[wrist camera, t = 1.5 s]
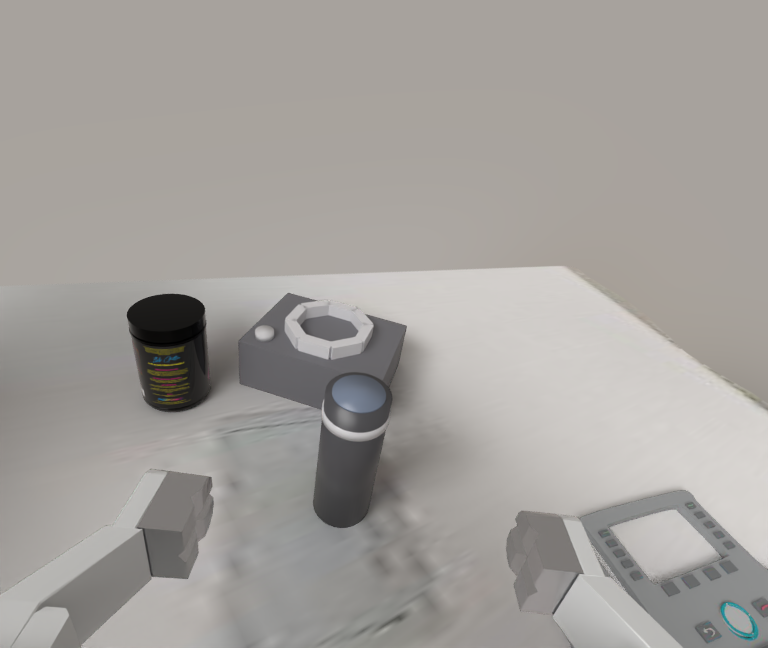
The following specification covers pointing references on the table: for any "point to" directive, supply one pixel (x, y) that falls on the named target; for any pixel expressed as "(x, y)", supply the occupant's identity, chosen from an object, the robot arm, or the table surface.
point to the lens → (350, 446)
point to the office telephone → (690, 579)
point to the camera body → (316, 348)
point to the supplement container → (170, 350)
